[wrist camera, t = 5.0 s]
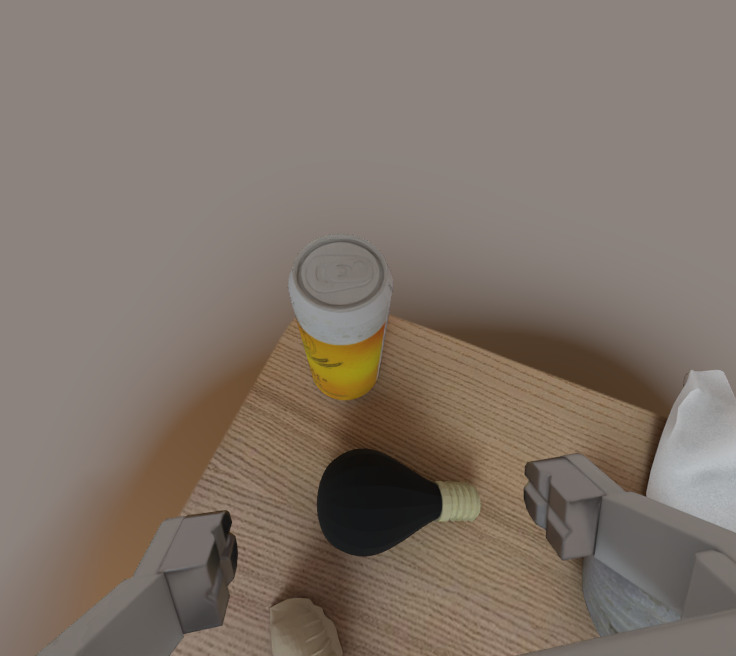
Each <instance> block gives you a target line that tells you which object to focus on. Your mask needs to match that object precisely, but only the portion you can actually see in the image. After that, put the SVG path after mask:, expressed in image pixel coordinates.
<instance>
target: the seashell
mask: <svg viewBox="0 0 736 656" xmlns="http://www.w3.org/2000/svg"><path fill="white" fill-rule="evenodd" d="M594 556H595V555H594ZM594 556H587V557H584V559H583V568H582V588H583V594H584V598H585V601H586V605H587V608H588V611H589V614H590V616H591V618H592V620H593V623H594V625H595V627H596V629H597V631H598V633H599V635H600V637H603V636H607V635H612V634H616V633H621V632H626V631H630V630H635V629H639V628H644V627H649V626H653V625H658V624H663V623H667V622H672V621H676V620H680V619H681V615H679V614H678V613H676V612H675V611H673V610H672V609H670V608H669V607H668V606H666V605H665V604H663V603H662V602H660V601H659V600H657V599H656V598H654V597H653V596H651V595H650V594H648V593H647V592H645V591H644V590H642V589H641V588H639V587H638V586H636V585H635V584H633V583H632V582H630V581H629V580H627V579H626V578H624V577H623V576H621V575H620V574H618V573H617V572H615V571H614V570H612V569H611V568H610V567H608V566H607V565H605V564H604V563H602V562H601V561H599V560H598V559H596V558H595V557H594Z"/></svg>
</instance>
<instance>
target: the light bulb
mask: <svg viewBox="0 0 736 656" xmlns="http://www.w3.org/2000/svg"><path fill="white" fill-rule="evenodd" d="M480 505H481V503H480V496H479V493H478V491H477V489H476V488H475V487H474V486H473V485H470V484H469V483H468V482H460V481H458V482H454V481H451V482H449V481H444V482H442V481H432V482H431V481H429V480H427V479H425V478H423V477H422V476H420V475H419V474H417V473H415V472H414V471H412V470H411V469H409V468H408V467H406V466H405V465H403V464H401V463H400V462H398V461H396V460H395V459H393V458H391V457H389V456H387V455H385V454H383V453H381V452H378V451H375V450H371V449H355V450H351V451H348V452H346V453H343V454H342V455H340V456H339V457H337V458H336V459H334V460H333V461H332V462H331V463H330V464H329V465H328V467H327V468H326V470H325V472H324V473H323V476H322V479H321V481H320V485H319V490H318V496H317V512H318V519H319V523H320V527H321V529H322V532H323V534H324V536H325V537H326V539H327V540H328V541H329V542H330V543H331V544H332V545H333V546H334V547H335V548H337V549H339V550H341V551H343V552H345V553H348V554H351V555H355V556H372V555H376V554H379V553H382V552H384V551H386V550H388V549H390V548H392V547H394V546H395V545H397V544H399V543H400V542H402V541H403V540H405V539H406V538H408V537H409V536H411V535H412V534H414V533H415V532H416V531H418V530H419V529H421V528H422V527H424V526H425V525H427V524H428V523H430V522H432V521H448V520H449V519H450V521H455V520H457V521H461V520H463V521H467V520H469V521H474V520H475V519H476V517H477V516H478V515H479V512H480Z"/></svg>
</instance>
